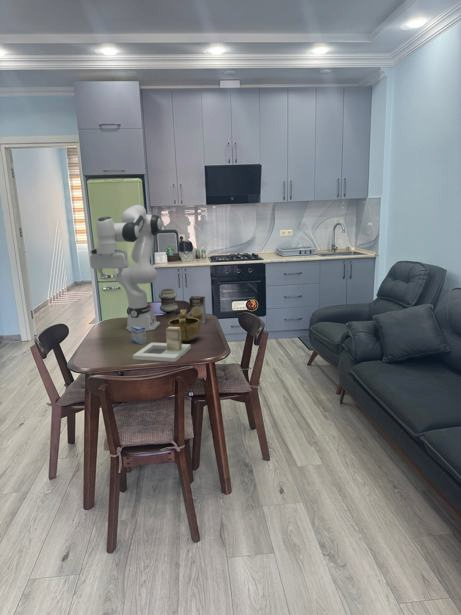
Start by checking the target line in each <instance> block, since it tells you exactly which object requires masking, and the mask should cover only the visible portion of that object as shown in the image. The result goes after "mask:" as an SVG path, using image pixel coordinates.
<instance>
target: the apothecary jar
mask: <svg viewBox="0 0 461 615" xmlns="http://www.w3.org/2000/svg"><path fill="white" fill-rule="evenodd" d="M176 297H177V293H176V292H175V290H174V288H163V289H161V291H160V293H159V294H158V298H159V299H160V303H161V304H160V306H159V311H161V312H163V313H164V314H162V315H161V317H162V318H173V317H176V316H177V314H176V313H175V311H177V310H178V309H179V306H178V305H177V303H176Z"/></svg>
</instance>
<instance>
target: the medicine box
mask: <svg viewBox="0 0 461 615" xmlns="http://www.w3.org/2000/svg"><path fill="white" fill-rule="evenodd" d="M146 332H147V331H145V328H144V327H141V326H132V327H131V335H130V336H131V342H132V343H134V344H137V345H144V344H147V333H146Z"/></svg>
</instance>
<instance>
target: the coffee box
mask: <svg viewBox="0 0 461 615" xmlns="http://www.w3.org/2000/svg"><path fill="white" fill-rule="evenodd" d="M188 300H189V316H190V317H189V318H197V319H199V322H200V324H205V323H206V321H207V316H206V315H207V310H206V296H190V297H189V299H188Z"/></svg>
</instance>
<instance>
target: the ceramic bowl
mask: <svg viewBox="0 0 461 615" xmlns="http://www.w3.org/2000/svg"><path fill="white" fill-rule="evenodd" d="M167 323H168V325H167V326H168V327H180V330H181V343H187V342H190V341H192V340H194V339H195V338H197V336H198V335H199V333H200V331H201V323H200V322H199V319H197V318H190V317H189V316H188V314H187V309H186V308H185V309H180V314H179V317H178V318H174V319H170V320H169V321H168V322H167ZM168 327H167V328H168Z"/></svg>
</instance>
